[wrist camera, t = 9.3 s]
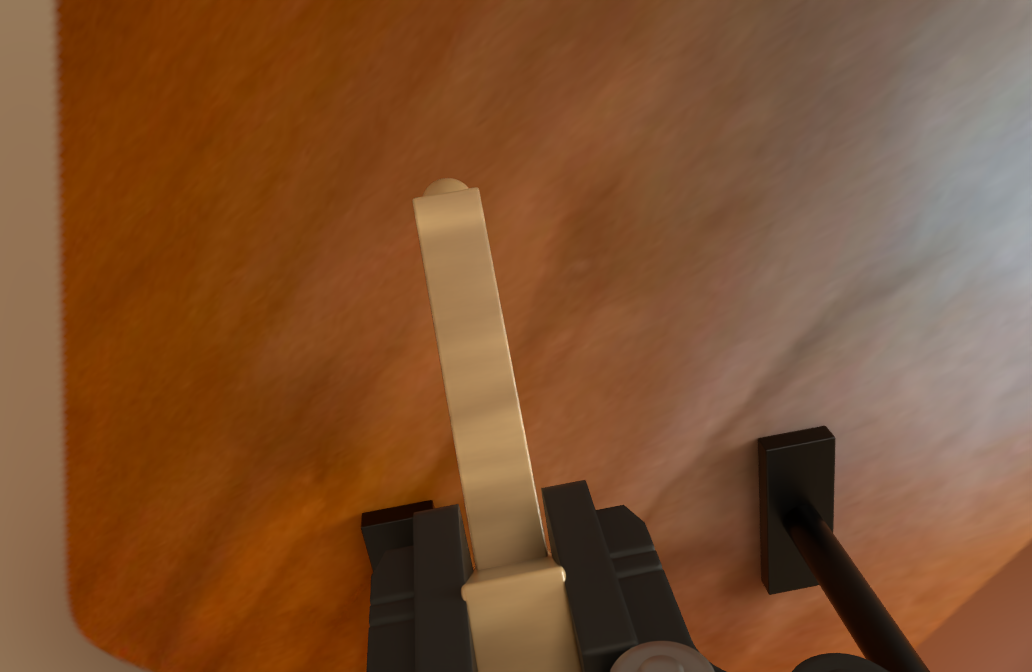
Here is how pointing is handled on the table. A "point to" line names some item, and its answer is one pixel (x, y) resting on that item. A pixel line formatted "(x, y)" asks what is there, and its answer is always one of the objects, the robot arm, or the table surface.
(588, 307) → the table surface
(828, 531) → the rail stand
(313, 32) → the table surface
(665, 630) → the robot arm
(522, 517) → the hanger
